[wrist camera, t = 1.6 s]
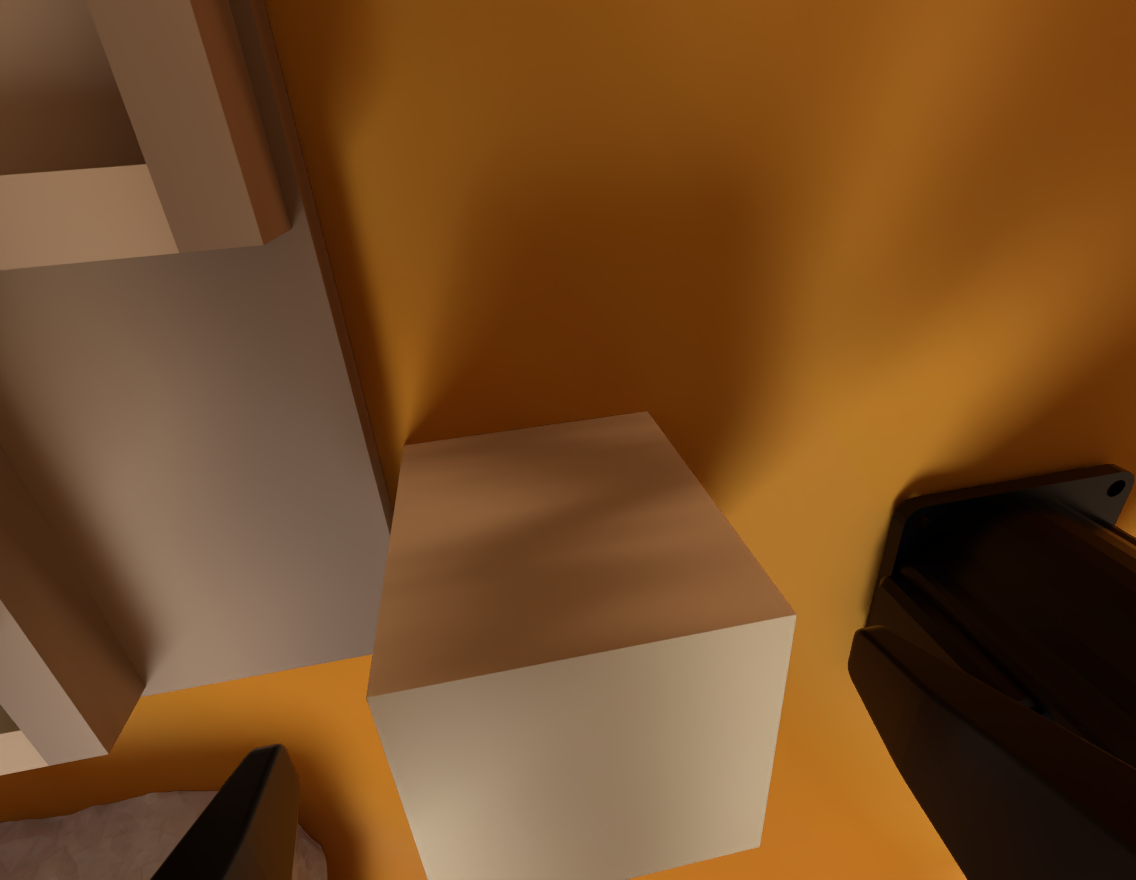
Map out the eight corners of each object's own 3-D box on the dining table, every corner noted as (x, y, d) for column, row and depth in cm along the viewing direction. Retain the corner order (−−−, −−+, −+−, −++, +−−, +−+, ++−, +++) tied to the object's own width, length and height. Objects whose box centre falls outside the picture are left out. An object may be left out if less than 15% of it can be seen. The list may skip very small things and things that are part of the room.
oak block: (646, 409, 12) (796, 613, 7) (647, 591, 15) (759, 846, 9) (403, 444, 12) (366, 696, 6) (445, 628, 14) (443, 923, 9)
